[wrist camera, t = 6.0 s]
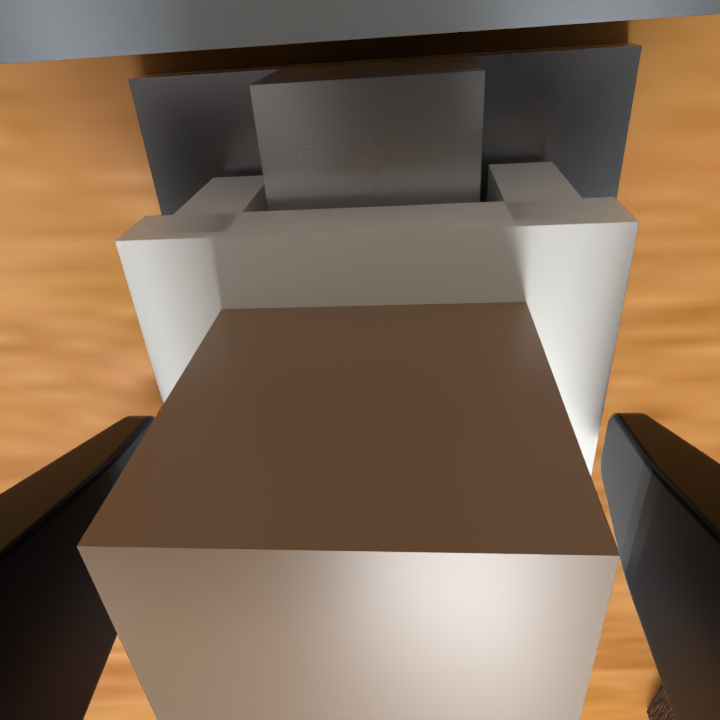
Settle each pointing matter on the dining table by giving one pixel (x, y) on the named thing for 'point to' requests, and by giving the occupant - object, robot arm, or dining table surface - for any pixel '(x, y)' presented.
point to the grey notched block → (282, 22)
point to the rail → (512, 118)
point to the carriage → (369, 455)
